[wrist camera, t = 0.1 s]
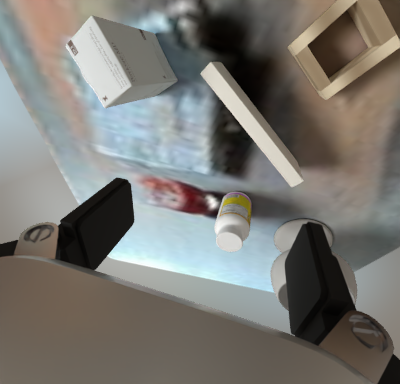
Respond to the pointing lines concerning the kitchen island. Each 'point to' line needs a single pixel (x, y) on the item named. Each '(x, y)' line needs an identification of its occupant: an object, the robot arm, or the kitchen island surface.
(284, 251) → the chalice
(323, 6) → the kitchen island surface
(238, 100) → the wall
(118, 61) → the skincare box
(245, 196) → the supplement bottle
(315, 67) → the light wooden square frame
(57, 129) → the kitchen island surface
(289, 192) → the kitchen island surface
